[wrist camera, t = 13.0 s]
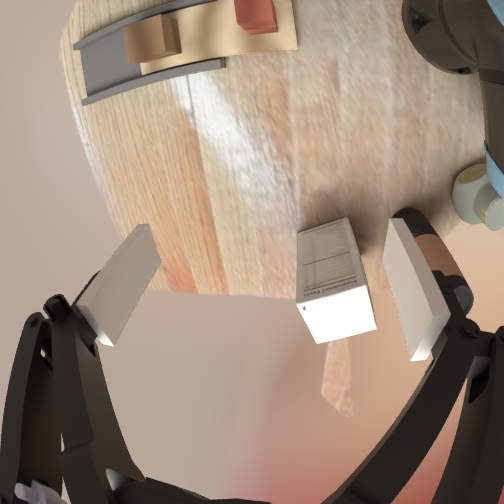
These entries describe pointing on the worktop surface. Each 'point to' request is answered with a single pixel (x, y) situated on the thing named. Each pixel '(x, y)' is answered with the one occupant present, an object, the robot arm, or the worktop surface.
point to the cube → (152, 39)
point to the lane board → (115, 61)
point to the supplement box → (332, 283)
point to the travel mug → (437, 254)
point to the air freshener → (478, 198)
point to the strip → (230, 31)
